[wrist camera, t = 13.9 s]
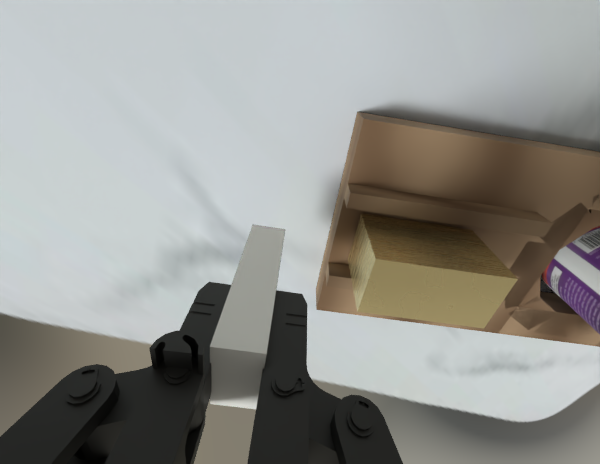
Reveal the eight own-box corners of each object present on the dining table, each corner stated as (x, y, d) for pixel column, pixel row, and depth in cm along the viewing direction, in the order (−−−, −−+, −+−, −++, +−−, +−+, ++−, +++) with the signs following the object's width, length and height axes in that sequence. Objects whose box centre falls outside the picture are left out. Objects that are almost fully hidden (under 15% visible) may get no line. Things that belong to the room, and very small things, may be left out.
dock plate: (316, 288, 21) (316, 323, 18) (357, 111, 15) (368, 124, 12) (604, 327, 22) (646, 366, 19) (754, 177, 16) (847, 202, 13)
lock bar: (347, 259, 17) (357, 311, 13) (361, 213, 15) (375, 258, 12) (448, 273, 17) (484, 328, 14) (471, 229, 15) (518, 278, 12)
